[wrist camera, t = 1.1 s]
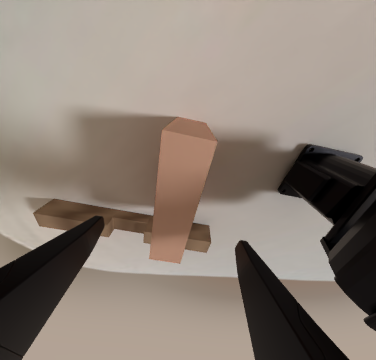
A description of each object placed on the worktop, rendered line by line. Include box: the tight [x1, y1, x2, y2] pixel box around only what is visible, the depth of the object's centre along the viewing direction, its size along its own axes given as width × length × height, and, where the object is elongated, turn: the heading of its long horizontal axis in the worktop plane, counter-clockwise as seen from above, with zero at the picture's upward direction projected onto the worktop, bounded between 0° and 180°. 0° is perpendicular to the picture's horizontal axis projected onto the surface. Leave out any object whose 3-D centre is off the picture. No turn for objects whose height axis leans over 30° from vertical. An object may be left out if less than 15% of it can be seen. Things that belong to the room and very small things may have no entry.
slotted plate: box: [149, 117, 218, 264], centre depth 13 cm, size 3×12×8 cm, turn 169°
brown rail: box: [33, 199, 211, 253], centre depth 20 cm, size 24×2×3 cm, turn 79°
